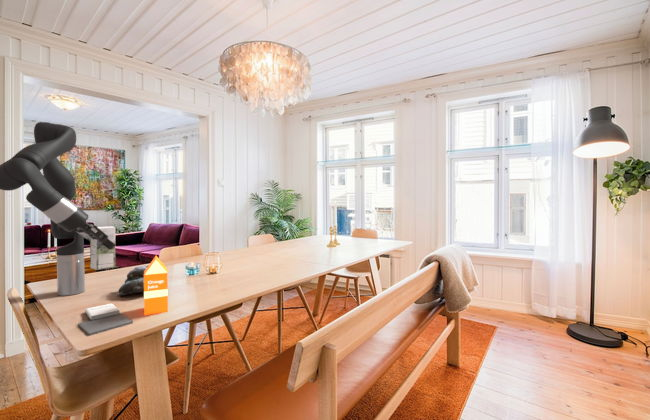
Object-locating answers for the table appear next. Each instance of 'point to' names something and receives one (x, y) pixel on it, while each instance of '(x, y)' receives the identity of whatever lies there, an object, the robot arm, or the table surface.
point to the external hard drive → (102, 311)
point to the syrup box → (102, 251)
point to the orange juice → (155, 288)
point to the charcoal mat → (104, 324)
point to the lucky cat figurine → (133, 282)
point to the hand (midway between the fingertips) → (108, 246)
